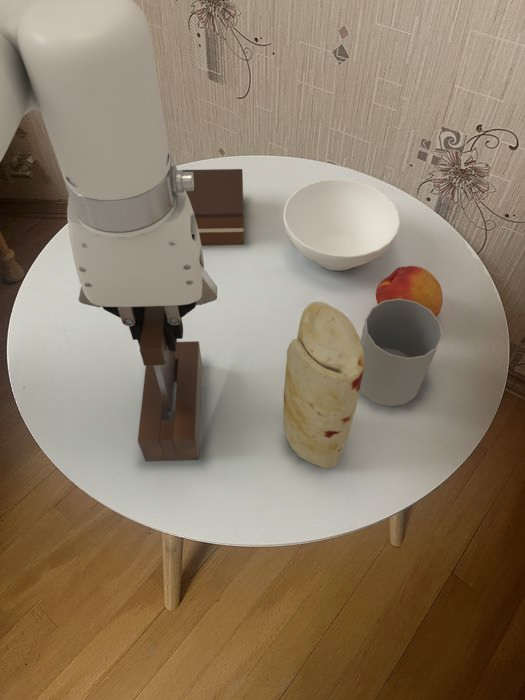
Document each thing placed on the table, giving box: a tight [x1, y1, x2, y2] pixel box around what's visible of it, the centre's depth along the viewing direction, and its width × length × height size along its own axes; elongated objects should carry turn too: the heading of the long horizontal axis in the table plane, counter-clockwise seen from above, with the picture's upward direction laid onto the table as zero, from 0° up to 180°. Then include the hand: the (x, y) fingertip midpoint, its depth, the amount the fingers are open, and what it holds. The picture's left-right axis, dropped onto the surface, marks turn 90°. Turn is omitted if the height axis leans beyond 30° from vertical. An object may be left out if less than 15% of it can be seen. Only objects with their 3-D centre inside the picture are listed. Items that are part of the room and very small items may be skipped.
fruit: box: [375, 265, 444, 318], centre depth 73 cm, size 8×8×8 cm
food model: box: [282, 301, 364, 469], centre depth 57 cm, size 10×7×20 cm
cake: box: [181, 168, 245, 246], centre depth 84 cm, size 9×10×6 cm
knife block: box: [137, 340, 203, 462], centre depth 65 cm, size 6×13×5 cm, turn 2°
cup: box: [359, 299, 443, 408], centre depth 66 cm, size 8×8×10 cm
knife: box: [139, 306, 175, 412], centre depth 58 cm, size 2×8×12 cm, turn 2°
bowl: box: [283, 178, 401, 272], centre depth 80 cm, size 16×16×7 cm
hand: (159, 339), depth 56 cm, fingers closed on knife, 2 cm apart
